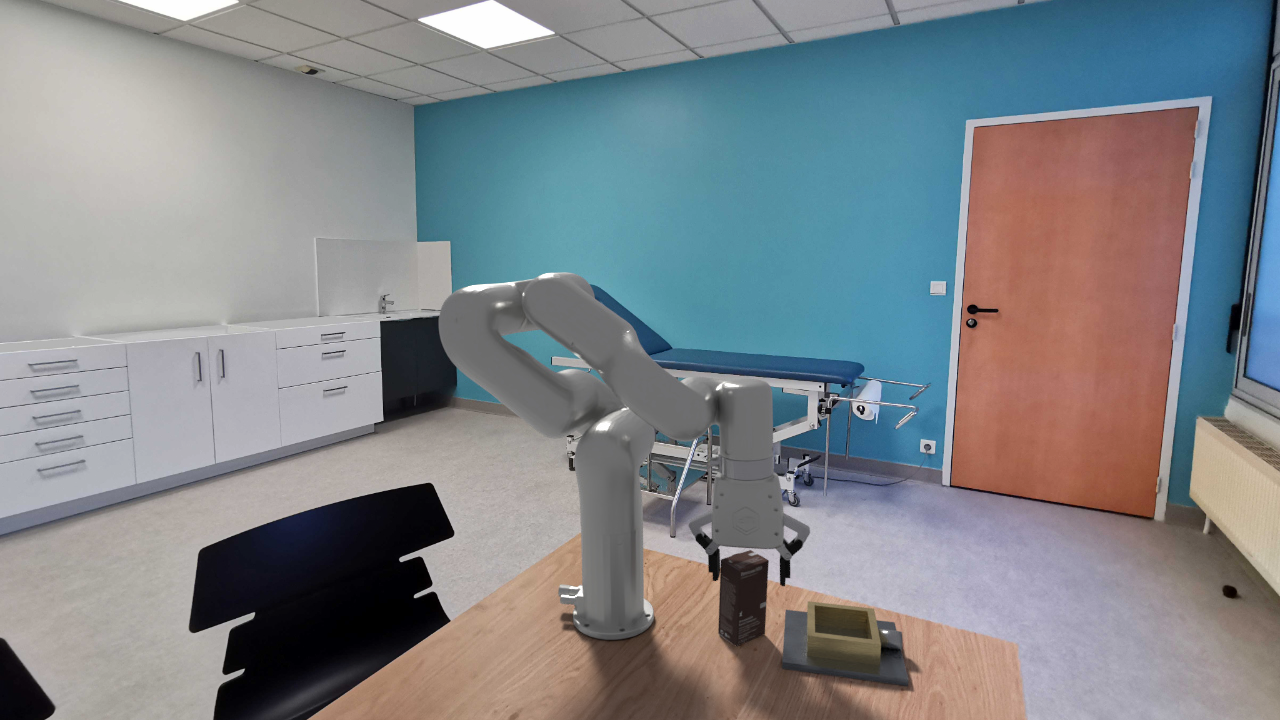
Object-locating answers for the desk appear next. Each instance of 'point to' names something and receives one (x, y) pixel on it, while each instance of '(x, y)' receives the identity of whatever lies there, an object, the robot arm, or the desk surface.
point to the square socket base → (843, 644)
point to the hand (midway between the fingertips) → (749, 579)
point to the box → (743, 597)
